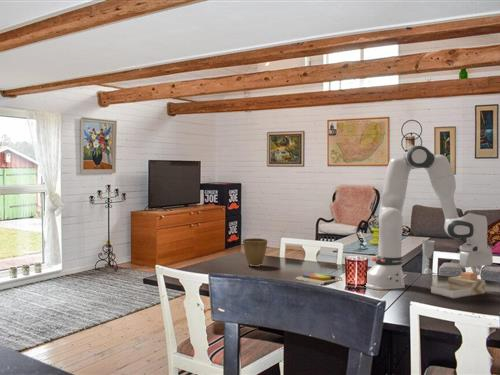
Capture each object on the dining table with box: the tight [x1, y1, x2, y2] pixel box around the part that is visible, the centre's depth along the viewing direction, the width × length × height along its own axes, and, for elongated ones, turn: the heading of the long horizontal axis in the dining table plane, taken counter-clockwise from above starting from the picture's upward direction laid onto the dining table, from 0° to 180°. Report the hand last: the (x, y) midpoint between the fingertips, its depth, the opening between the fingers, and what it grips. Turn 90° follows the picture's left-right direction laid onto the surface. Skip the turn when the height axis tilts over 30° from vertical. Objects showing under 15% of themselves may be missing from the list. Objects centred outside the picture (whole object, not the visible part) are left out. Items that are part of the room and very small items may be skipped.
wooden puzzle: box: [295, 272, 343, 286], centre depth 246 cm, size 18×19×4 cm
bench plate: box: [447, 275, 486, 296], centre depth 222 cm, size 10×12×6 cm
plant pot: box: [242, 237, 268, 265], centre depth 285 cm, size 15×15×16 cm
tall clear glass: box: [421, 239, 436, 275], centre depth 267 cm, size 7×7×18 cm
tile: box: [460, 271, 478, 280], centre depth 223 cm, size 5×5×2 cm
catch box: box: [430, 283, 472, 300], centre depth 216 cm, size 12×12×3 cm
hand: (476, 275), depth 225 cm, fingers closed
